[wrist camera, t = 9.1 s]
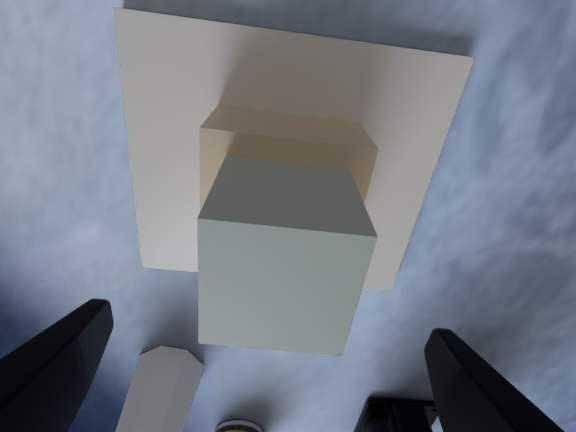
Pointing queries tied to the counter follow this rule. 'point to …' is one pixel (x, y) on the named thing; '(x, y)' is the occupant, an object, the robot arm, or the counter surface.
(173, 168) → the build base
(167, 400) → the pepper shaker
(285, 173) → the sage cube
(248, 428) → the supplement bottle
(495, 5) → the counter surface
